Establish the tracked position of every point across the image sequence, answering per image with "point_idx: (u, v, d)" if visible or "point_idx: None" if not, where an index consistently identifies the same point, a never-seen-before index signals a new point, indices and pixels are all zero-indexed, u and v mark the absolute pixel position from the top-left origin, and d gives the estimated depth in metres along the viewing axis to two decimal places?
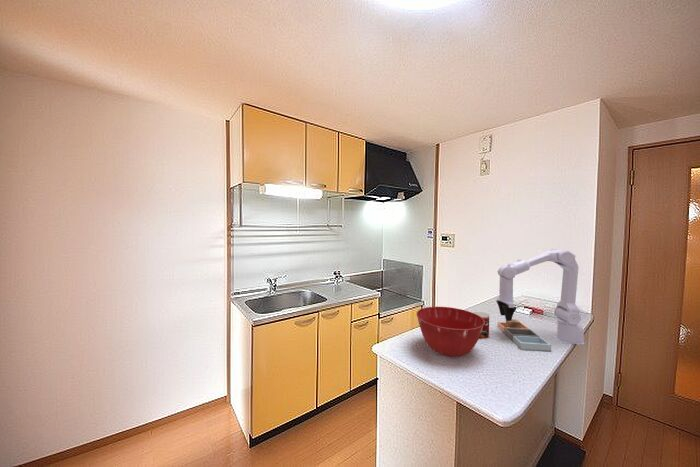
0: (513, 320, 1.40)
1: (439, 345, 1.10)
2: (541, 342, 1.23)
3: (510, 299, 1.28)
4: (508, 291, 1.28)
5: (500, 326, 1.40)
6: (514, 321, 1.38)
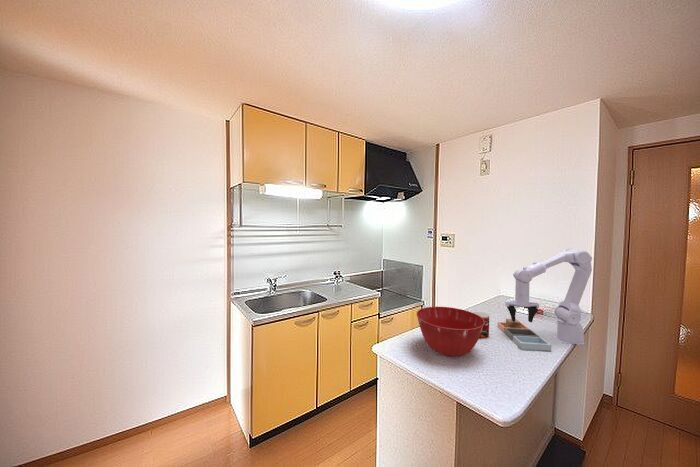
0: None
1: (439, 345, 1.10)
2: (541, 342, 1.23)
3: (517, 301, 1.29)
4: (524, 294, 1.27)
5: (500, 326, 1.40)
6: None
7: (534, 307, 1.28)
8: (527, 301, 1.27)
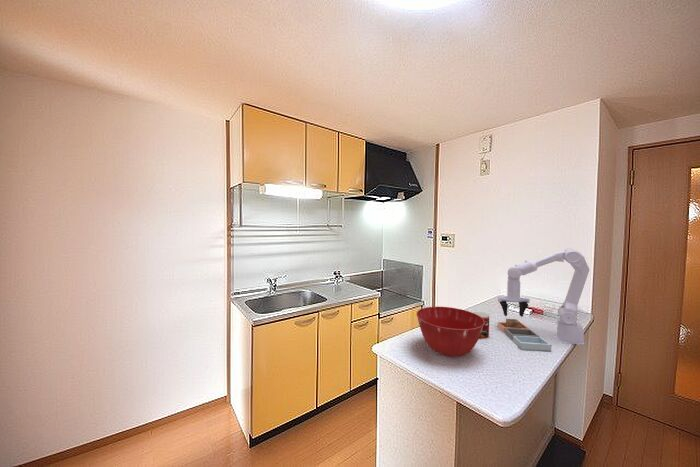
0: (513, 320, 1.40)
1: (439, 345, 1.10)
2: (541, 342, 1.23)
3: (509, 297, 1.38)
4: (513, 290, 1.36)
5: (500, 326, 1.40)
6: (514, 321, 1.38)
7: (525, 302, 1.37)
8: (518, 297, 1.36)
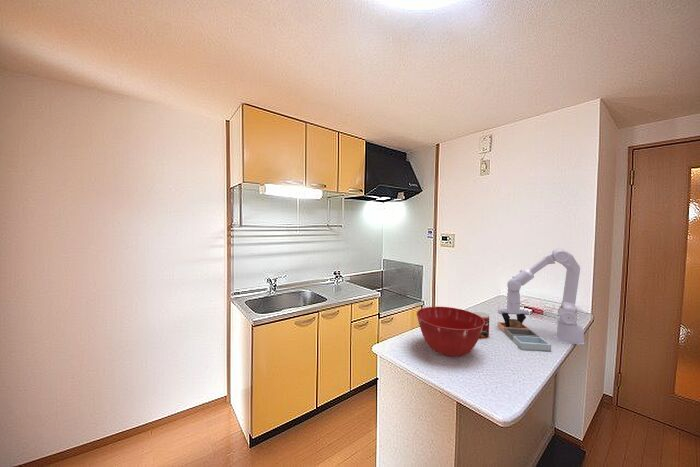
0: (513, 320, 1.40)
1: (439, 345, 1.10)
2: (541, 342, 1.23)
3: (509, 309, 1.38)
4: (513, 303, 1.37)
5: (500, 326, 1.40)
6: (514, 321, 1.38)
7: (524, 314, 1.37)
8: (518, 309, 1.36)
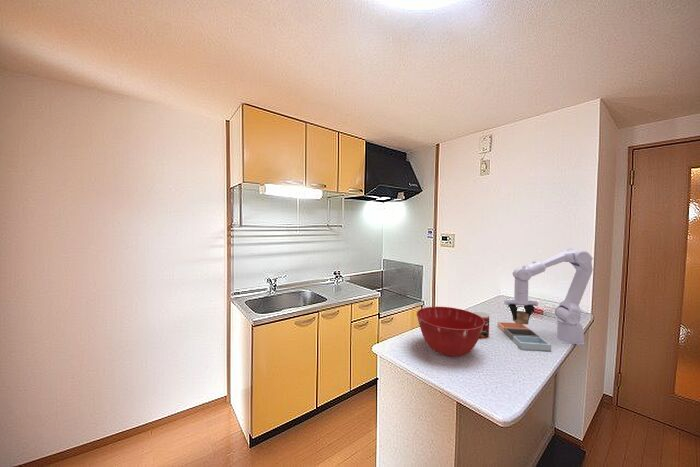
0: (520, 312, 1.32)
1: (439, 345, 1.10)
2: (541, 342, 1.23)
3: (516, 300, 1.30)
4: (523, 293, 1.28)
5: (500, 326, 1.40)
6: (521, 313, 1.30)
7: (533, 305, 1.29)
8: (526, 299, 1.28)
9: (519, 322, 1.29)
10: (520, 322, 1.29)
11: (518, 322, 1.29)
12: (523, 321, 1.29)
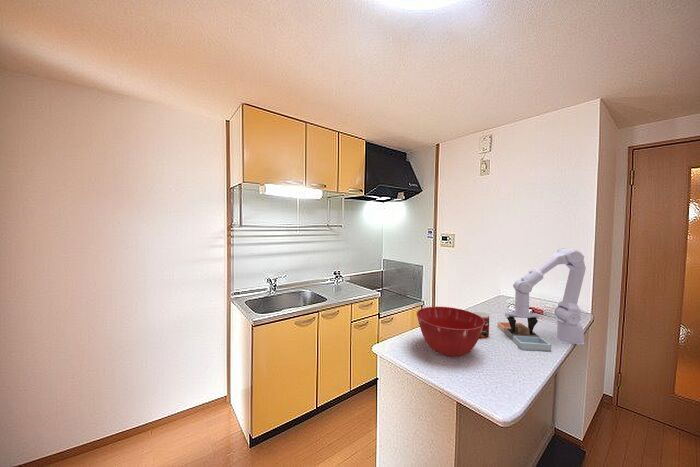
0: (521, 326, 1.31)
1: (439, 345, 1.10)
2: (541, 342, 1.23)
3: (517, 312, 1.29)
4: (524, 306, 1.27)
5: (500, 326, 1.40)
6: (522, 327, 1.30)
7: (534, 318, 1.29)
8: (527, 312, 1.27)
9: None
10: None
11: None
12: None
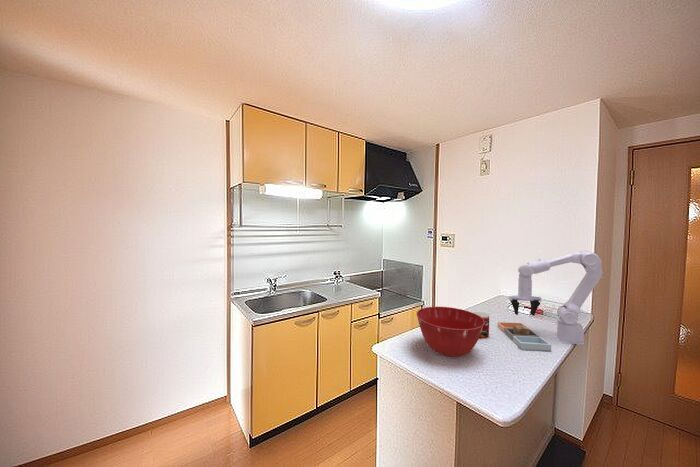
0: (521, 326, 1.31)
1: (439, 345, 1.10)
2: (541, 342, 1.23)
3: (520, 295, 1.35)
4: (525, 288, 1.33)
5: (500, 326, 1.40)
6: (522, 327, 1.30)
7: (536, 301, 1.34)
8: (530, 295, 1.33)
9: None
10: None
11: None
12: None
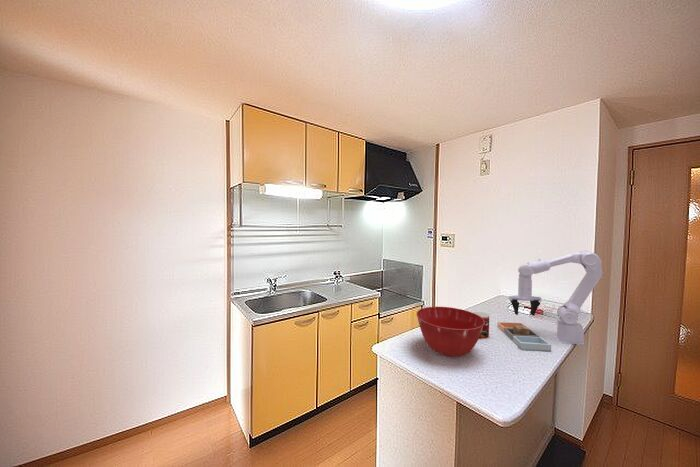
0: (521, 326, 1.31)
1: (439, 345, 1.10)
2: (541, 342, 1.23)
3: (520, 295, 1.35)
4: (525, 288, 1.33)
5: (500, 326, 1.40)
6: (522, 327, 1.30)
7: (536, 301, 1.34)
8: (530, 295, 1.33)
9: None
10: None
11: None
12: None
